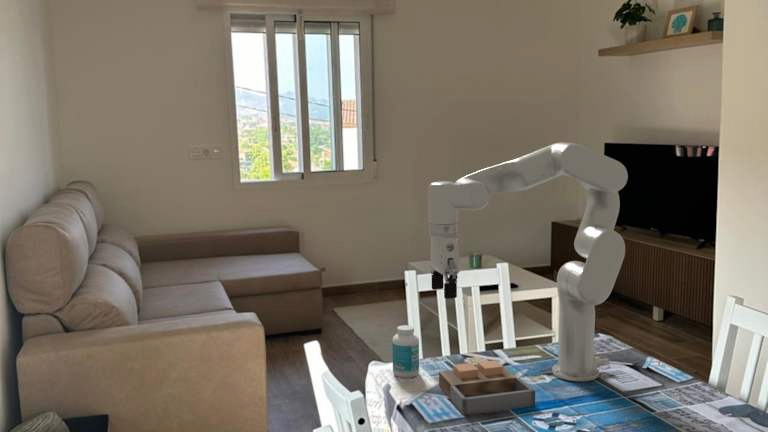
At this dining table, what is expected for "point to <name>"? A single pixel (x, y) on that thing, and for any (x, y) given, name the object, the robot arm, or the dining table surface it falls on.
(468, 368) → the tile
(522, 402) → the tray
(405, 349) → the pill bottle
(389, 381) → the dining table surface
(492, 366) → the tile
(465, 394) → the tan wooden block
